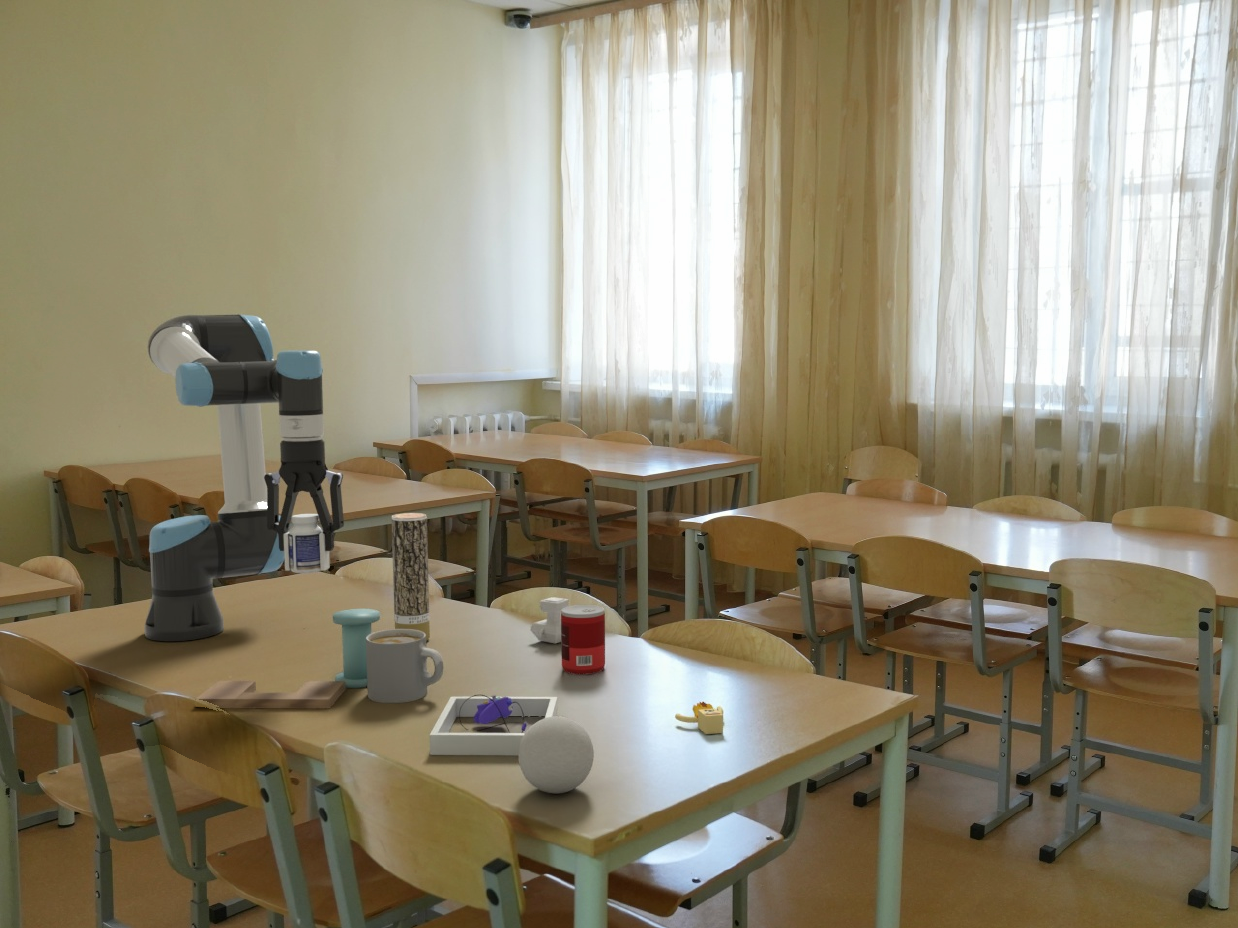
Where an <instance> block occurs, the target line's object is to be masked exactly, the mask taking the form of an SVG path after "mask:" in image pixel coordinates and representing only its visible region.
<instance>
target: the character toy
mask: <svg viewBox="0 0 1238 928" xmlns="http://www.w3.org/2000/svg"><path fill="white" fill-rule="evenodd" d="M692 712H693V715H694V716H686V715H682V714H680V713H676V714H675V717H674V718H675V720H677V721H679V722H683V723H690V724H691V723H692V724H695V723H697V728H698V729H699V730H700V731H702V733H704V734H705V735H710V734H711V735H712V734H723V733H724V709H723V707H722V706H720V705H719V706H717V707H716V708H714V706H713V705H712V704H711V703H706V702H705V701H702V702H701V701H699V702H697V704H696V705H695V704H693V706H692Z"/></svg>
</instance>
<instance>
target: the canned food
mask: <svg viewBox="0 0 1238 928" xmlns="http://www.w3.org/2000/svg"><path fill="white" fill-rule="evenodd" d="M605 612H606V611H605V608H604V607H602V606H600V605H595V604H575V605H568V606H566V607H565V608H563V609H562V610H561V613H560V618H561V642H560V644H561V645H560V646H561V650H560V651H561V653H560V654H561V667H562V670H563V671H564V672H566V673H567V674H572V675H591V674H596V673H600V672H602V671H604V669H605V665H606V616H605V615H606V613H605Z"/></svg>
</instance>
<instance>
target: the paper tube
mask: <svg viewBox="0 0 1238 928" xmlns="http://www.w3.org/2000/svg"><path fill="white" fill-rule="evenodd" d="M391 543H392V544H391V547H392V551H391V552H392V575H393V576H392V577H393V578H392V579H393V580H392V581H393V582H392V583H393V609H394V610H393V612H394V613H393V614H394V629H413V630H418V631H422V632H424V633H425V634H426V642H428V640H429V639H430V638H431V633H430V632H431V629H430V589H429V588H430V585H429V552H428V551H429V547H428V517H427V514H425V513H421V512H404V513H395V514H393V515H391Z"/></svg>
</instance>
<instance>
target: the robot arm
mask: <svg viewBox="0 0 1238 928" xmlns="http://www.w3.org/2000/svg"><path fill="white" fill-rule="evenodd" d="M147 353H148V356H149V359H150V360H151V362H152V364H153V365H154V366H155V367H156V368H158V370H160V371H161V372H163V373H165V374H167V375H172V376H173V377H174V380H175V393H176V395H177V399H178V402H179V403H180V405H182V406H185V407H189V406H191V407H195V406H196V407H199V408H200V407H206V406H207V407H208V406H217V419H218V420H217V421H218V431H219V442H220V443H219V445H220V458H221V469H222V470H221V472H222V481H223V483H222V484H223V485H222V486H223V495H224V498H223V499H224V504H223V506H222V507H221V508H220V509H219V510H218V512H217V516H218V518H217V519H218V520H217V521H211V519H210V517H209V516H208V515H204V514H203V515H202V514H197V515H185V516H181V517H177V518H176V517H175V518H171V519H167V520H164V521H161V522H160V523H157V524H156V525H154V526H153V527H152V528H151V530H150V531H149V545H148V546H149V548H148V553H149V558H150V577H151V578H150V579H151V580H150V581H151V594H152V595H151V596H152V597H151V601H150V605H149V607H148V613H147V614H146V619H145V623H144V636H145V638H146V639H148V640H152V641H158V642H184V641H185V642H186V641H193V640H199V639H205V638H208V637H212V636H213V637H214V636H215V635H218V634H219V633H222V632H223V631H224V628H225V626H224V624H225V623H224V617H223V614H222V612H221V608H220V607H219V605H218V602H217V599H216V597H215V594H214V586H213V585H214V584H213V580H214V579H221V578H231V577H232V578H233V577H239V576H240V577H241V576H249V575H261V574H265V573H271V572H275V571H278V570H279V569H280V568H281V567H282V565H283V563H284V571H291V567H290V543H289V531H290V529H291V528H290V524H291V522H292V516H293V512H294V508H295V504H296V501H297V497H298V495H299V492H304V493H309V495H310V498H311V499H312V502H313V504H314V507H315V510H316V514H318V516H319V522H320V526H321V527H322V528H321V529H322V533H320V534H319V541H320V566H321V571H320V572H322V571H323V572H324V571H326V570H328V569H330V566H331V565H330V552H332V551H333V550H334V548H335V536H334V535H335V534H334V533H335V531H339V530H340V529H342V528H343V527H344V526H345V522H344V521H345V520H344V519H345V518H344V509H343V497H342V486H341V485H342V482H343V479H344V475H343V473H342V472H334V471H331V470H329V469H328V467H327V464H326V451H325V450H326V449H325V445H326V444H325V440H324V439H322V437H324V436H325V425H324V424H325V423H324V421H325V420H324V399H323V397H324V396H323V394H324V393H323V372H324V371H323V366H322V358H321V354H320V353H319V352H318V351H317V350H281V351H279V352H278V353H277V355H276V360H274V347H273V342H272V338H271V333H270V331H269V329H268V326H267V325H266V323H265V321H264V320H263V319H262V318H261V317H259V316H256V315H249V314H245V315H244V314H242V313H241V314H239V313H238V314H203V315H202V314H201V315H200V314H199V315H198V314H197V315H196V314H185V315H180V316H176V317H173V318H170V319H169V320H166V321H164V322H163V323H161V324H159V326H157V327H156V328H155V329H154V330H153V331H152V333H151V335H150V336H149V339H148V343H147ZM261 404H278V419H279V422H278V424H279V437H280V438H282V439H283V440H281V441H280V443H279V445H280V462H281V463H280V467H279V469H278V471H275V472H270V473H266V461H265V460H266V459H265V448H264V446H265V445H264V436H263V421H262V410H261V409H262V407H261ZM281 479H282V480H283V482H284V483H285V485H286V491H285V493H284V494H285V495H284V496H285V498H284V501H283V505H282V510H281V514H279V513H280V512H279V511H280V510H279V509H280V507H279V506H280V485H279V484H280V482H281ZM325 479H327V483H328V484H329V492H330V493H329V494H330V505H331V514H330V511H329V508H328V505H327V501H326V499H325V495H324V489H323V487H322V483H323V482H324V480H325Z"/></svg>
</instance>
